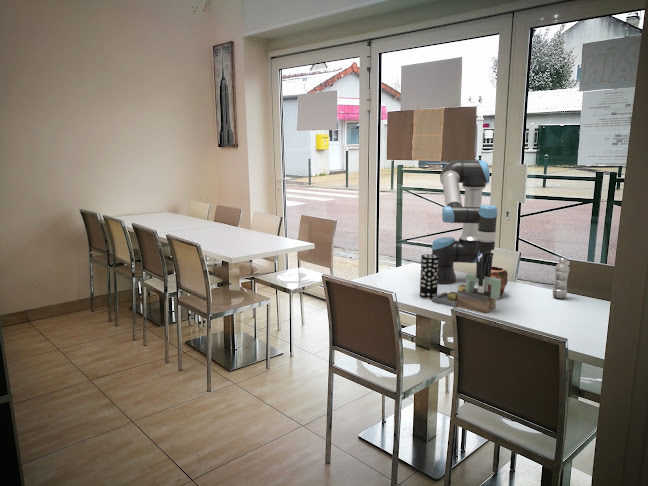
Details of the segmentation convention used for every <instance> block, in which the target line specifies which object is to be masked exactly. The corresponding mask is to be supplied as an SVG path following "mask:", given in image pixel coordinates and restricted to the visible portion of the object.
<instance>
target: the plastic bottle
mask: <svg viewBox="0 0 648 486" xmlns="http://www.w3.org/2000/svg"><path fill="white" fill-rule="evenodd" d="M554 270H555V271H554V273H555V276H554V287H553V289H552V296H553V298H555V299H562V300H563V299H566V297H567V295H568V289H567V287H568V285H567V284H568V278H569V274H570V266H569V265H568V257H565V256H560V257H559V258H558V263H557V264H556V265H555V267H554Z"/></svg>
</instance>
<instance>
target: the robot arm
mask: <svg viewBox="0 0 648 486" xmlns="http://www.w3.org/2000/svg"><path fill="white" fill-rule="evenodd" d="M490 175H491V174H490V167H489V163H488V162H487V161H486V160H479V159H478V160H477V159H473V160H472V159H469V160H467V159H464V160H462V159H461V160H460V159H456V160H453V161H450V162H449V163H447V164H445V166H444V167H443V168H442V169H441V172H440V175H439V180H440V184H441V185H442V187H443V194H444V195H443V196H444V203H445V204H444V206H443V207H442V211H441V216H442V217H441V218H442V219H441V220H442V222H443V223H450V224H462V233H461V235H460V236H459V237H458V240H456V239H455V238H454V237H452V236H451V237H449V236H446V237H439V238H435V239H434V240H433V241H432V245H431V246H432V247H431V254H432V255H437V256H439V269H438V285H450V284H451V285H452V284H455V283H456V282H457V277H456V276H457V275H456V272H455V269H454V265H455V264H454V263H466V264H468V263H469V264H476V270H475V271H476V272H475V273H476V278H478V282H477V289H478V292H479V293H484V291H487V290H488V284H485V279H484V276H487V277H491V275H489V274H491V268H492V267H493V259H494V253H493V252H492V251H494V250H495V247H496V246H495V245H496V242H495V241H496V236H497V235H496V234H497V231H496V230H497V219H498V207H497V206H496V205H492V204H482V200H483V199H482V198H483V190H484V189H485V188H487V187H486V185H488V184H489V183H490V178H491V176H490ZM460 184H462V188H463V189H464V203H463V201H462V195H461V191H460V190H461V189H460Z"/></svg>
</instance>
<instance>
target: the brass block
mask: <svg viewBox="0 0 648 486" xmlns="http://www.w3.org/2000/svg"><path fill="white" fill-rule="evenodd" d="M447 293H448V297H447V301H452V302H456V301H457V295H458V291H457V292H456V291H449V292H447Z"/></svg>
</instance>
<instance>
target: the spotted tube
mask: <svg viewBox="0 0 648 486" xmlns="http://www.w3.org/2000/svg"><path fill="white" fill-rule="evenodd" d="M438 269H439V256H437V255H432V253H431V254H427V253H426V254H425V253H424V254H422V255H421V261H420V282H419V283H420V284H419V296H420V297H421V298H423V299H429V300H430V299H431V300H432V298H433V297H435V296H438V288H439V284H438Z"/></svg>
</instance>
